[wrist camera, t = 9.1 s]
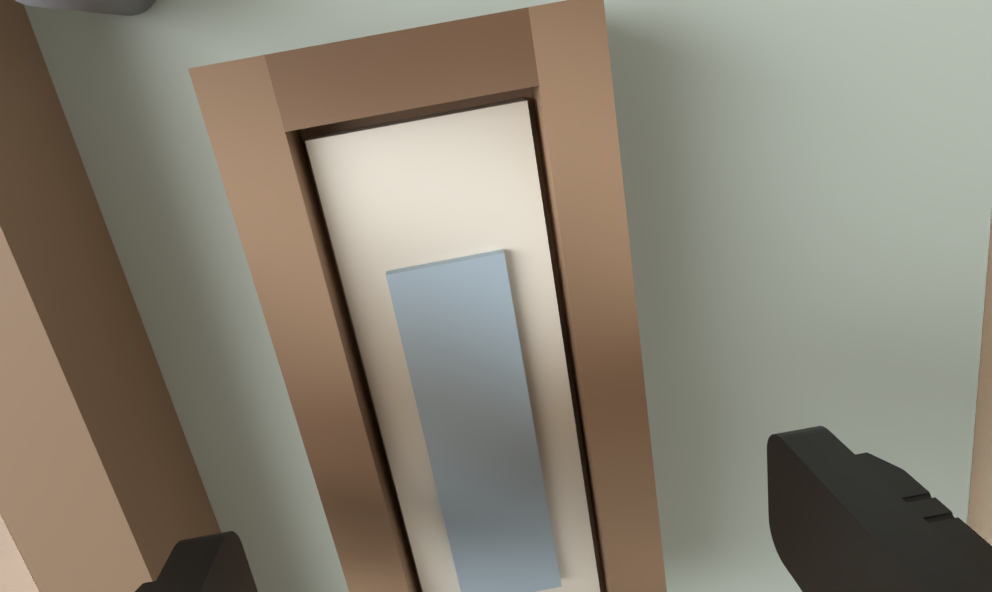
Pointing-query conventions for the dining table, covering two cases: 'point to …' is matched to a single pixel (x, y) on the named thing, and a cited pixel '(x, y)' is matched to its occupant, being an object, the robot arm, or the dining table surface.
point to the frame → (452, 297)
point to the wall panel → (654, 253)
